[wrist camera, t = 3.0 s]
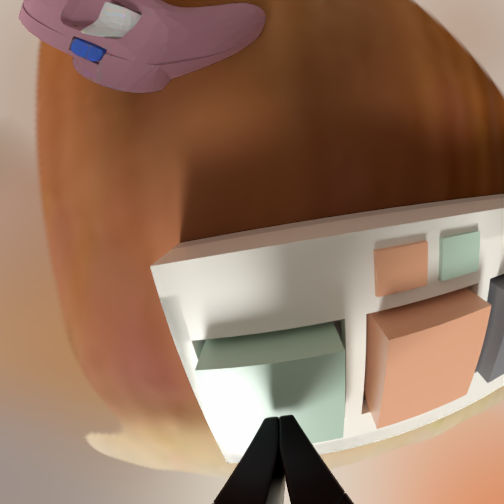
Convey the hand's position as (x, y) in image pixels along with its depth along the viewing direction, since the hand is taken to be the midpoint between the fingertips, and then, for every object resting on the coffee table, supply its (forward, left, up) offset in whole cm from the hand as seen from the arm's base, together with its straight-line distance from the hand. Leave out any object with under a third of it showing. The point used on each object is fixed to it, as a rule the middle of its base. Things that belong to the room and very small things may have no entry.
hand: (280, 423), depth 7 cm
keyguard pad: (-5, 0, -5) cm, 7 cm away
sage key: (0, 0, -3) cm, 3 cm away
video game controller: (+3, -15, -5) cm, 16 cm away
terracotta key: (-5, 0, -3) cm, 6 cm away
